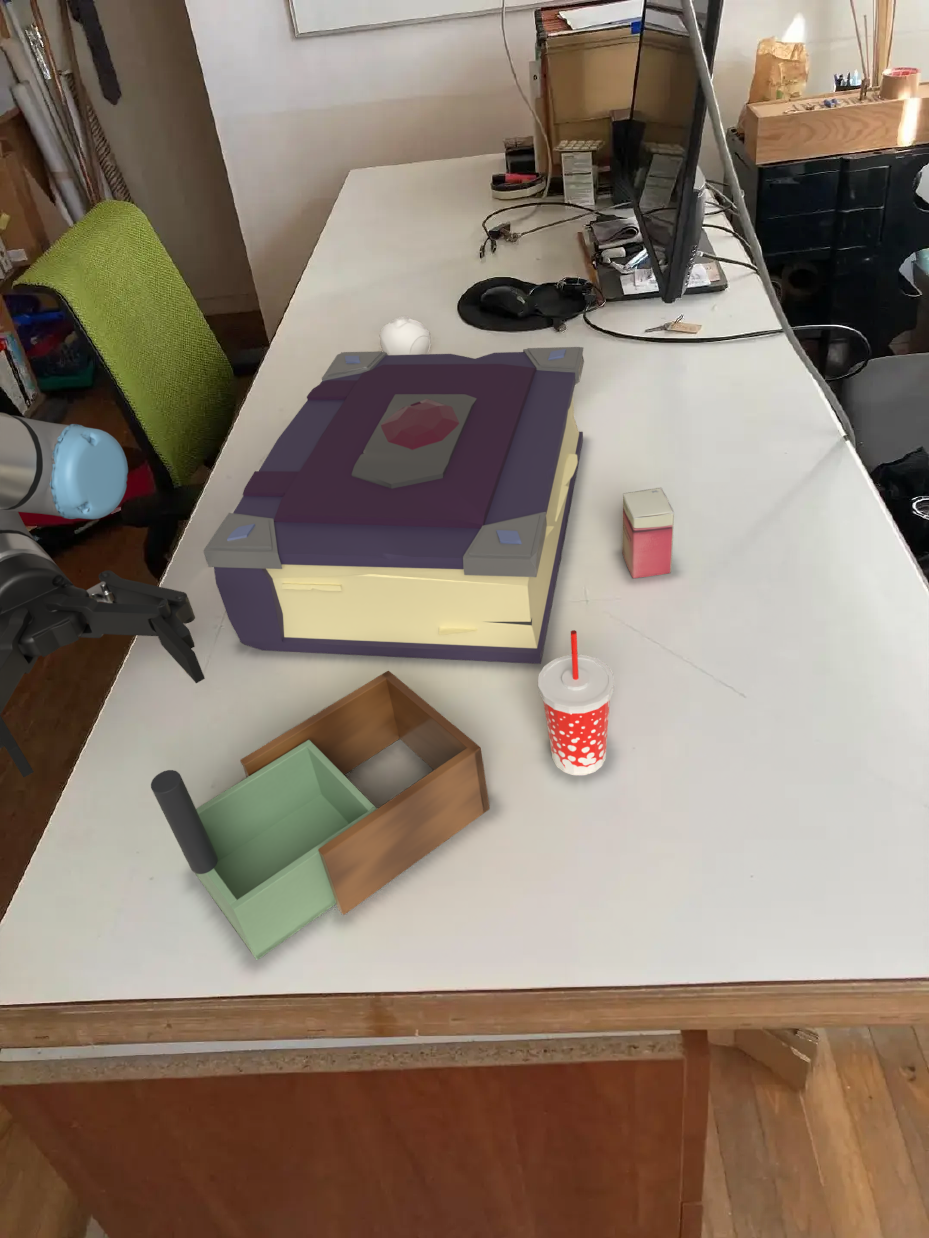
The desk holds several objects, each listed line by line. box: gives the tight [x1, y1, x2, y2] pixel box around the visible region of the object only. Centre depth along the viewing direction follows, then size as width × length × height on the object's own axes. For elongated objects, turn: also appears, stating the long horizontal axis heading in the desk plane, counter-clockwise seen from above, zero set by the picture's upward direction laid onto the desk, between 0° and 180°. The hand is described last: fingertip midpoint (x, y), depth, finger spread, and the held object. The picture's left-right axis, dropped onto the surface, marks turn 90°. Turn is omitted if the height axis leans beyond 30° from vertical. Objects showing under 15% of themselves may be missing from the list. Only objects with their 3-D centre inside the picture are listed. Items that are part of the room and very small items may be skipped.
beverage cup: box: [537, 629, 615, 776], centre depth 76 cm, size 6×6×14 cm
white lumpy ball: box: [378, 315, 432, 355], centre depth 144 cm, size 8×8×8 cm
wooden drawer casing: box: [240, 670, 490, 916], centre depth 75 cm, size 15×13×8 cm
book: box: [202, 346, 585, 665], centre depth 105 cm, size 33×45×14 cm
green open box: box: [150, 740, 378, 961], centre depth 69 cm, size 13×10×16 cm
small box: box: [621, 487, 675, 579], centre depth 97 cm, size 5×4×8 cm
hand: (112, 713), depth 68 cm, fingers open, 13 cm apart
